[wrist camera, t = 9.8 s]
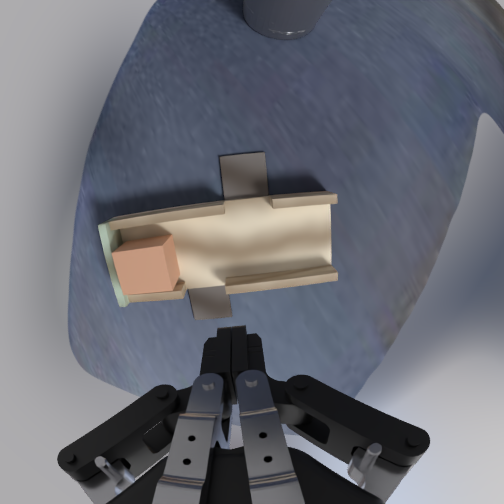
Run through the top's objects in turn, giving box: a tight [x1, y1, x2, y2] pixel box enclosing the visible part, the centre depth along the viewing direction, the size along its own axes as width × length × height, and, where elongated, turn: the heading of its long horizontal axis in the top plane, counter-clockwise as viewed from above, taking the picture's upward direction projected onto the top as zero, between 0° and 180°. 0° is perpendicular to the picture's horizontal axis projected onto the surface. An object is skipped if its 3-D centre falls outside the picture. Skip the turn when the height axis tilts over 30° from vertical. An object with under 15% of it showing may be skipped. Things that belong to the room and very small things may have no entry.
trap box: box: [98, 152, 338, 320], centre depth 30 cm, size 20×26×4 cm
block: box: [112, 234, 180, 295], centre depth 29 cm, size 5×6×4 cm
